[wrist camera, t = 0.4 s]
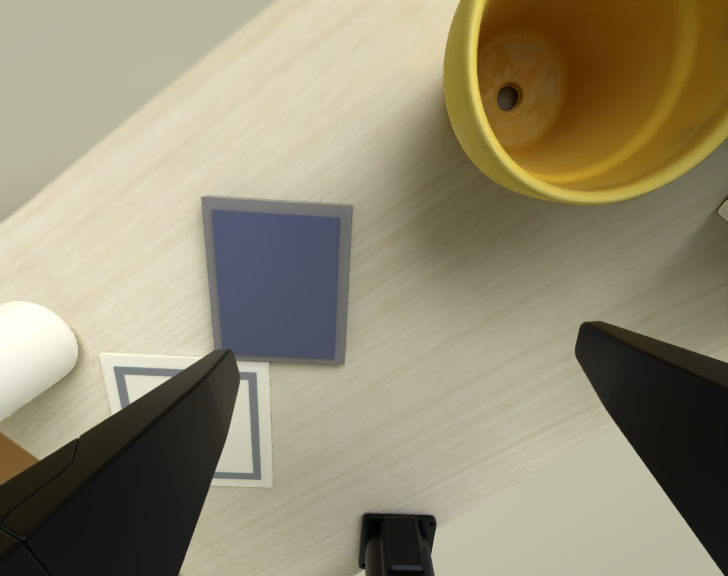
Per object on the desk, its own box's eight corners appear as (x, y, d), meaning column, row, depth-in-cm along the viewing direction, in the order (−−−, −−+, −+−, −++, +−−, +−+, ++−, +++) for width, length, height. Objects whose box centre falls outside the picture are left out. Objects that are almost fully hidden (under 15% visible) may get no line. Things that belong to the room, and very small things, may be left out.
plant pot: (511, 223, 22) (619, 261, 13) (380, 125, 20) (399, 88, 11) (632, 72, 20) (877, -16, 10) (496, -59, 18) (648, -311, 8)
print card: (273, 484, 29) (272, 488, 29) (128, 479, 29) (125, 483, 28) (269, 360, 25) (268, 363, 25) (102, 352, 25) (98, 355, 24)
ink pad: (344, 357, 25) (344, 367, 24) (220, 351, 25) (213, 362, 24) (352, 204, 22) (352, 207, 20) (208, 195, 21) (198, 197, 20)
